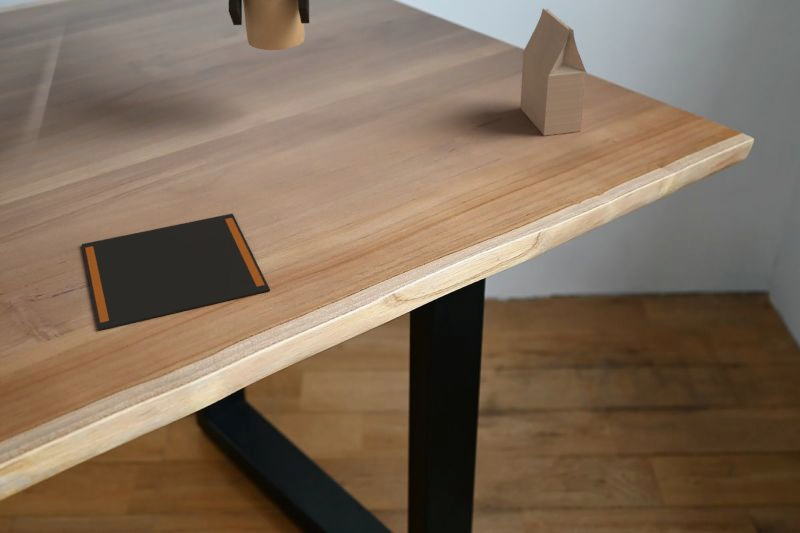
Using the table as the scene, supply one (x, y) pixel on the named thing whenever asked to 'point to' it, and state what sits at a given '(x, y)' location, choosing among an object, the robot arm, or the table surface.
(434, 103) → the table surface
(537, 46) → the tan gable-top carton
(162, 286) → the mat
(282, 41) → the candle
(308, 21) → the robot arm
